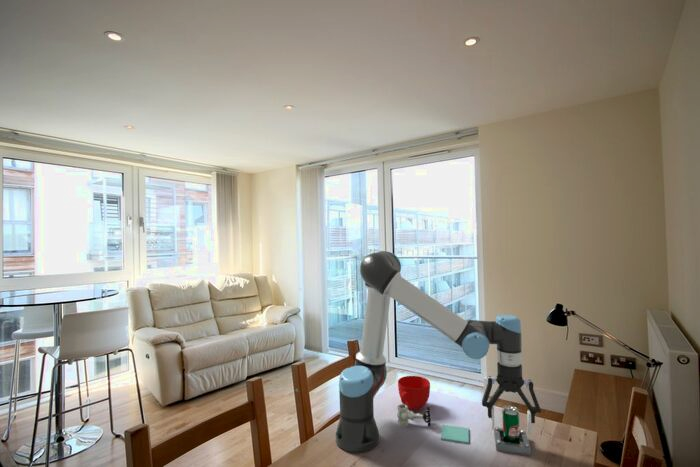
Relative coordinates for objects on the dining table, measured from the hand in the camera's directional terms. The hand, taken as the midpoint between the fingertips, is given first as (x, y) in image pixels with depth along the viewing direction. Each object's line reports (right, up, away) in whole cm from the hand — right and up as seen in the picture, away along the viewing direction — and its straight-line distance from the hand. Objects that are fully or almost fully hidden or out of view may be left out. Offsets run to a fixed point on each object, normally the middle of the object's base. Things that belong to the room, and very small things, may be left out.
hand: (511, 429), depth 119 cm
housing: (0, -5, 0) cm, 5 cm away
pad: (-17, -5, +7) cm, 19 cm away
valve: (-30, -6, +14) cm, 33 cm away
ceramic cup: (-28, -6, +26) cm, 39 cm away
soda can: (0, -5, 0) cm, 5 cm away
